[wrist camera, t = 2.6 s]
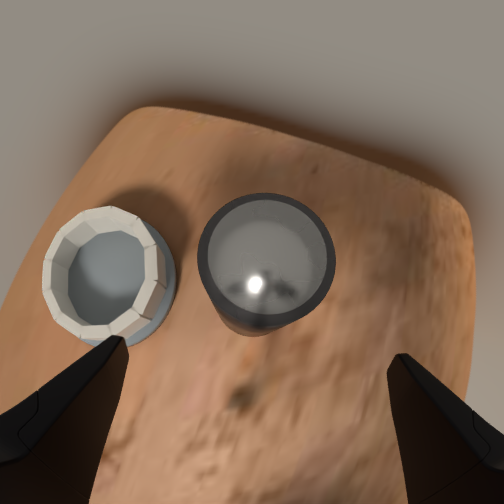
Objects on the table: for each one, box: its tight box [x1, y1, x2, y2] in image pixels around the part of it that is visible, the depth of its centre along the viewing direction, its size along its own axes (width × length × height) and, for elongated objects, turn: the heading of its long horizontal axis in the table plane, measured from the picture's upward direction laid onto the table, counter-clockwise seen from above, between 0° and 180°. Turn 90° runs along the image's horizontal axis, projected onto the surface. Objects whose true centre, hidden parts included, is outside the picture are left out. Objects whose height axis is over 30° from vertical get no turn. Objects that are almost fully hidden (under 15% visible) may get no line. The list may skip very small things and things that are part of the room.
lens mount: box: [42, 206, 177, 347], centre depth 19 cm, size 10×10×3 cm
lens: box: [197, 193, 336, 337], centre depth 16 cm, size 5×5×10 cm
